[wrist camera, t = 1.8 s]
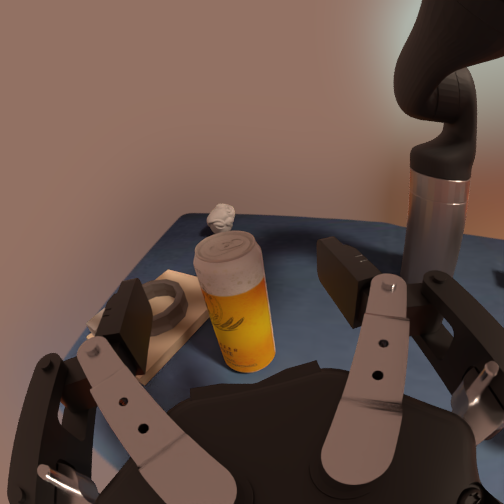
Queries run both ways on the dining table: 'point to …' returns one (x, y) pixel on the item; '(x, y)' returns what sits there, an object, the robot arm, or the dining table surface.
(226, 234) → the beer can
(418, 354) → the dining table surface
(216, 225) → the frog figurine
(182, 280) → the board
